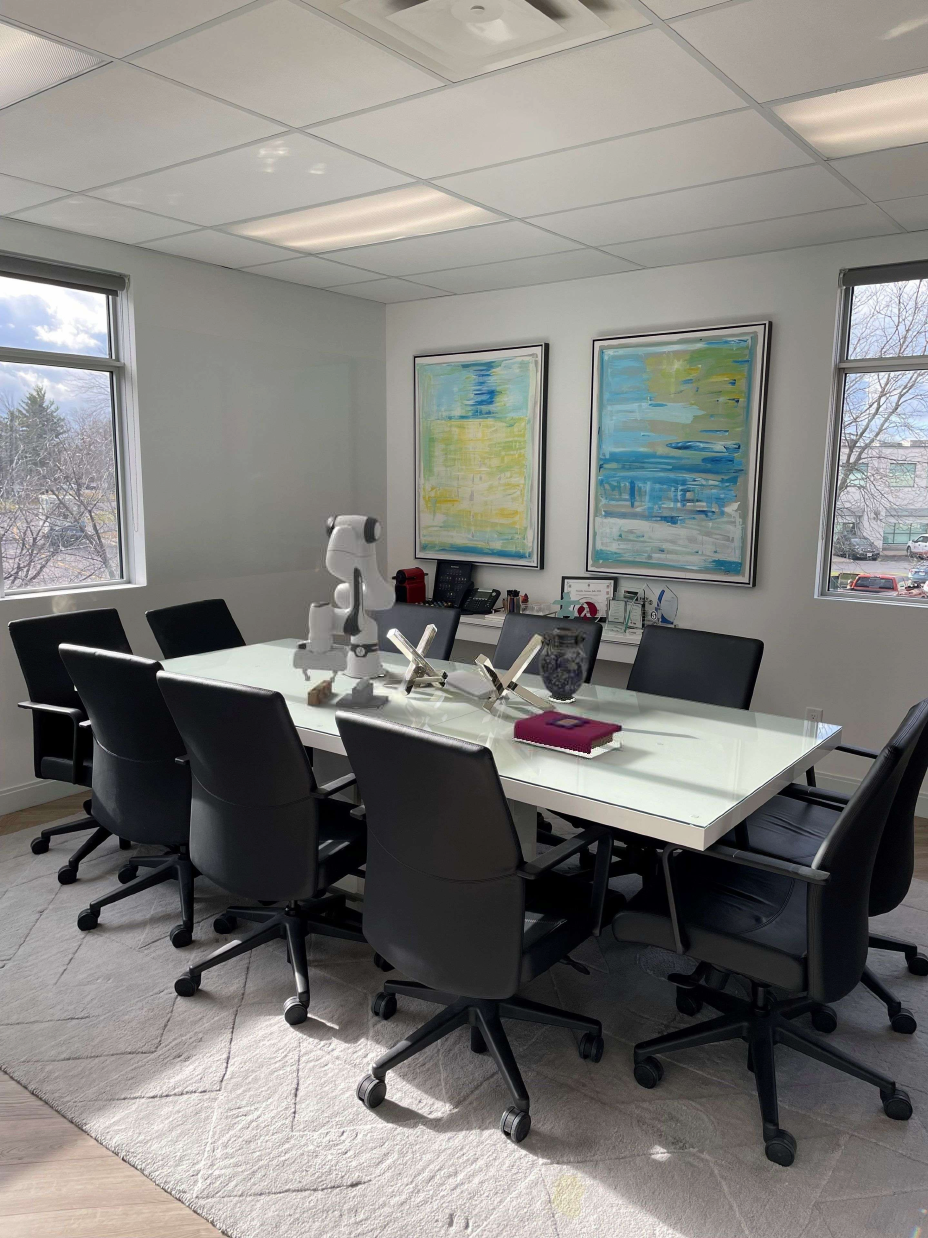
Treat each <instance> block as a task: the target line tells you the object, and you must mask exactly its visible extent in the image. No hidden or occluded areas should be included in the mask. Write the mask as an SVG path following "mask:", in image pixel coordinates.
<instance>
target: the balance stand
mask: <svg viewBox="0 0 928 1238" xmlns="http://www.w3.org/2000/svg"><path fill="white" fill-rule="evenodd" d="M370 679H371V678H370V677H364V678H360V680H359V681H357V682H356V684H355V685H354V687H352V688H351V693H350V692H349V693H348V692H347V693H346V694H344V695H343V696H342V697H341V698H339V699H338V700H337V701H336V702H335V707H340V708H341V707H342V708H353V707H358V708H357V709H367V708H377V709H376V710H380V709H381V708H382V707H383V706H384V705H385V704H386V703H387V702H388V701H389V696H390V695H379V694H374V682H370ZM381 706H382V707H381ZM380 707H381V708H380ZM379 708H380V709H379Z"/></svg>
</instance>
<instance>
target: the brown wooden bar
mask: <svg viewBox="0 0 928 1238" xmlns="http://www.w3.org/2000/svg"><path fill="white" fill-rule="evenodd" d="M332 689H333V683H330V679H324V680H322V681H321V682H320V683H318V684H317V685H316V686H314V687H313V688H312V689H310V690H309V691H308V692H307V706H312V707H314V706H317V705H318V704H319V703H321V702H322V701H323V700H324V699H326V698H327V697H328V696H330V694H331V693H332V691H333V690H332Z"/></svg>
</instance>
